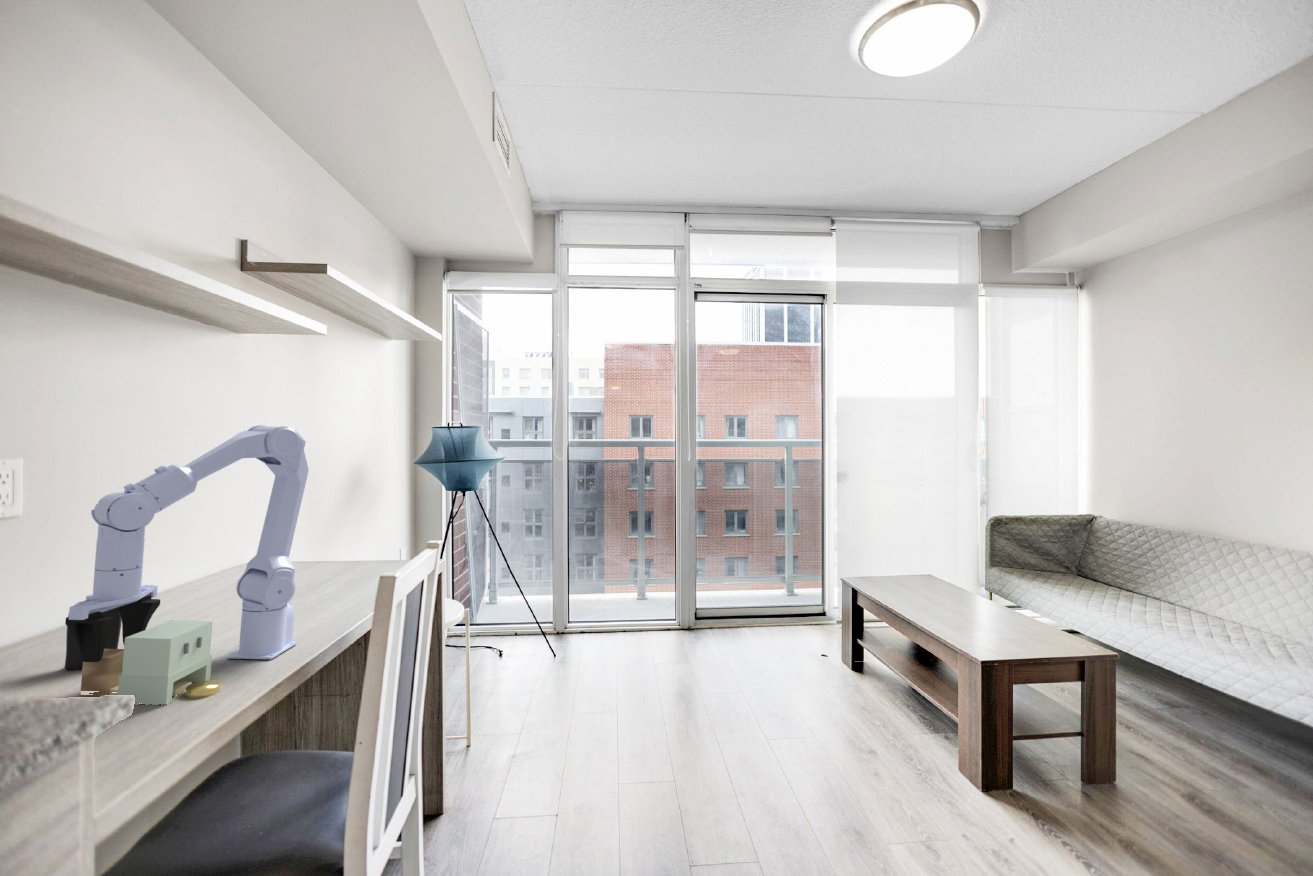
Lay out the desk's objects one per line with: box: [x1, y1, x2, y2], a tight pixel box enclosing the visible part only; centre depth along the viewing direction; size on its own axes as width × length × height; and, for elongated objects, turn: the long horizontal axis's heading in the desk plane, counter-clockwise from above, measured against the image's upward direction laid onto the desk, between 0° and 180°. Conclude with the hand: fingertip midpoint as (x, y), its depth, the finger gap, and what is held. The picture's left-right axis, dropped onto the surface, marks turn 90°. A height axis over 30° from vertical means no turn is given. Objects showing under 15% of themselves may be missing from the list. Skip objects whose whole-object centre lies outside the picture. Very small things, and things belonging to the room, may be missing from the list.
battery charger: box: [63, 600, 122, 671], centre depth 104 cm, size 7×4×11 cm, turn 129°
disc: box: [184, 679, 221, 699], centre depth 95 cm, size 4×4×1 cm
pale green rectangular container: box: [118, 619, 213, 706], centre depth 94 cm, size 7×10×10 cm
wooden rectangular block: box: [79, 648, 193, 697], centre depth 94 cm, size 14×4×6 cm, turn 95°
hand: (112, 652), depth 94 cm, fingers open, 7 cm apart
